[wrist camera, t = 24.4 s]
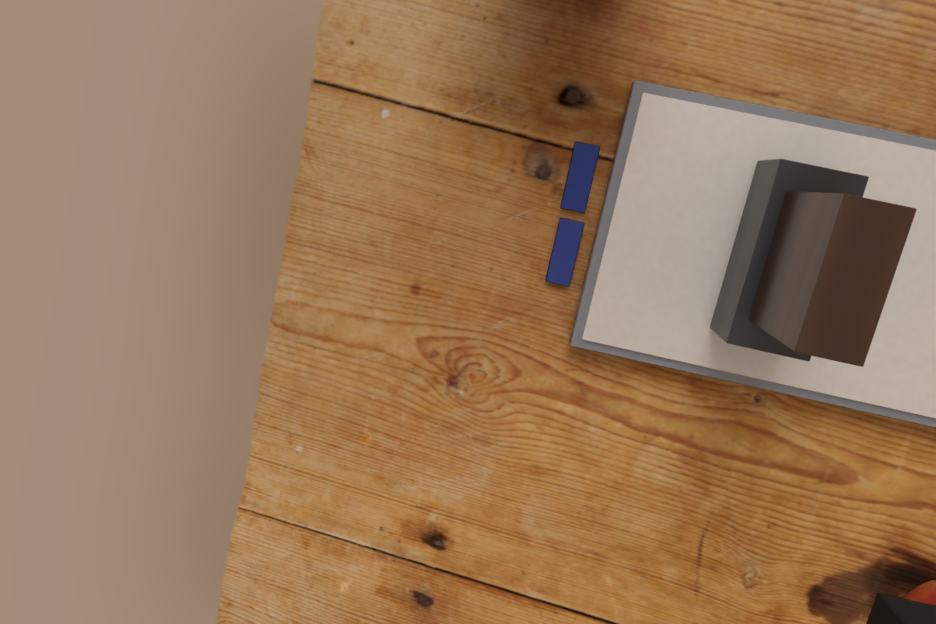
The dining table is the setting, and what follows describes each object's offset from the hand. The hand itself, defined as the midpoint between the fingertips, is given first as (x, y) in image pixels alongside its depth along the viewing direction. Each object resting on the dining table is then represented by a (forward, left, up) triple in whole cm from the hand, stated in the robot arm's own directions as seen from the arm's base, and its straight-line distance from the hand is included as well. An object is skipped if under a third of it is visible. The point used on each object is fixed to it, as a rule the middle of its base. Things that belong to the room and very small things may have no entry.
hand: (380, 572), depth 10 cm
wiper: (+10, +11, -33) cm, 37 cm away
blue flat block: (-1, +7, -34) cm, 35 cm away
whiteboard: (+12, +12, -34) cm, 39 cm away
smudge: (+2, +3, -34) cm, 34 cm away
